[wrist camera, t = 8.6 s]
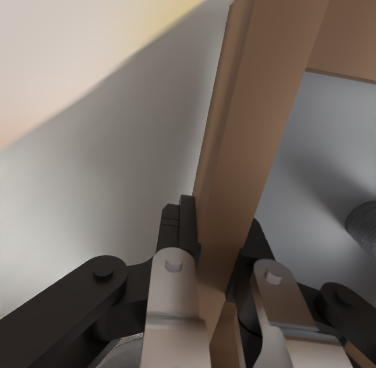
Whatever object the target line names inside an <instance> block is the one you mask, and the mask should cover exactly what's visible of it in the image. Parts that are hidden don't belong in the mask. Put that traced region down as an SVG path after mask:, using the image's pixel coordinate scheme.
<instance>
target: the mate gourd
mask: <svg viewBox="0 0 376 368" xmlns="http://www.w3.org/2000/svg"><path fill="white" fill-rule="evenodd" d="M142 339H143V338H142ZM142 339H137V340H133V341H130V342H127V343H124V344H122V345H120V346H118V347H116V348H115V349H113V350H112V351H110V352H109V353H108V354H107V355H106V357H105V358H104V359H103V360H102V361H101V363H100V365H99V368H139V364H140V355H141V347H142Z"/></svg>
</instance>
